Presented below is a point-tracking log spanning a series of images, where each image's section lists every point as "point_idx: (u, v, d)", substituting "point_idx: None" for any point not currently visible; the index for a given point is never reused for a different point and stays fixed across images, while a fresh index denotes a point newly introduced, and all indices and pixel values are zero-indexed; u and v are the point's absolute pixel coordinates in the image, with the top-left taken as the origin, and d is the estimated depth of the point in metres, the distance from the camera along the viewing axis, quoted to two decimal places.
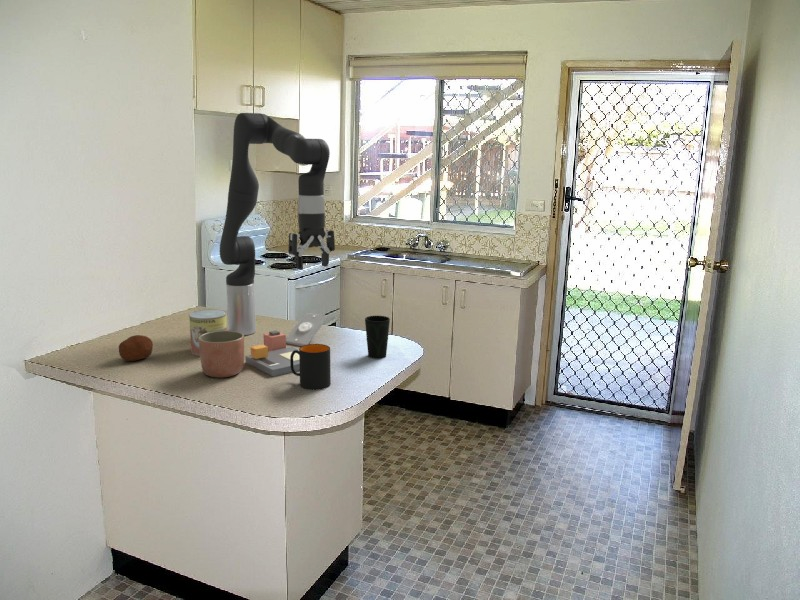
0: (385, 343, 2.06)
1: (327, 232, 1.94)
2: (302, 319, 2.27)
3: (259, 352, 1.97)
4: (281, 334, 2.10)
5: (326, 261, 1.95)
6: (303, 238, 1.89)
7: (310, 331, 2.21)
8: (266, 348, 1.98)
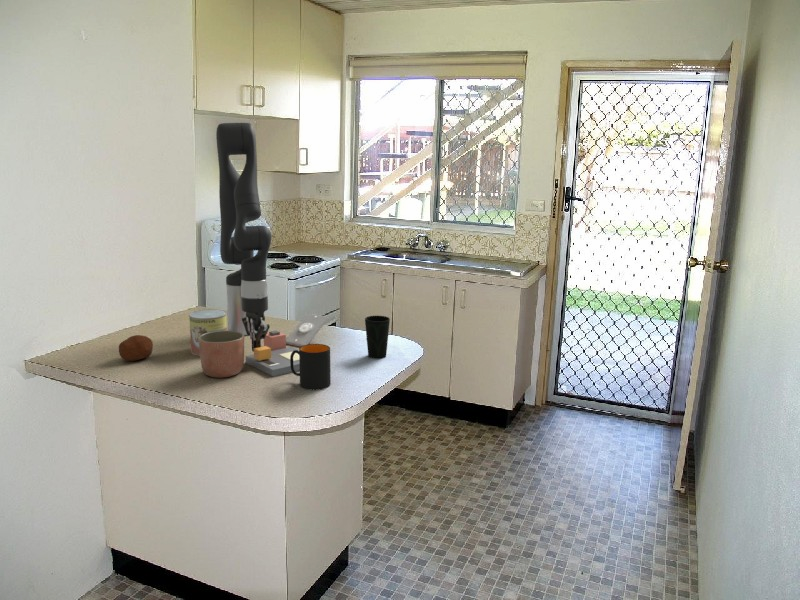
0: (385, 343, 2.06)
1: None
2: (304, 320, 2.27)
3: (262, 353, 1.95)
4: (281, 334, 2.10)
5: None
6: None
7: (310, 331, 2.21)
8: (269, 349, 1.97)
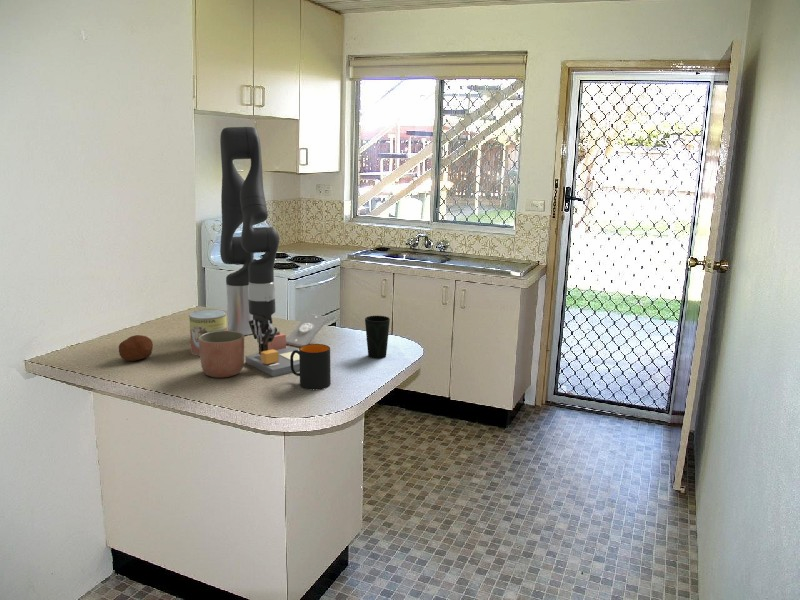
0: (385, 343, 2.06)
1: None
2: (304, 320, 2.26)
3: (269, 357, 1.92)
4: (281, 334, 2.10)
5: None
6: None
7: (310, 332, 2.20)
8: (276, 353, 1.94)
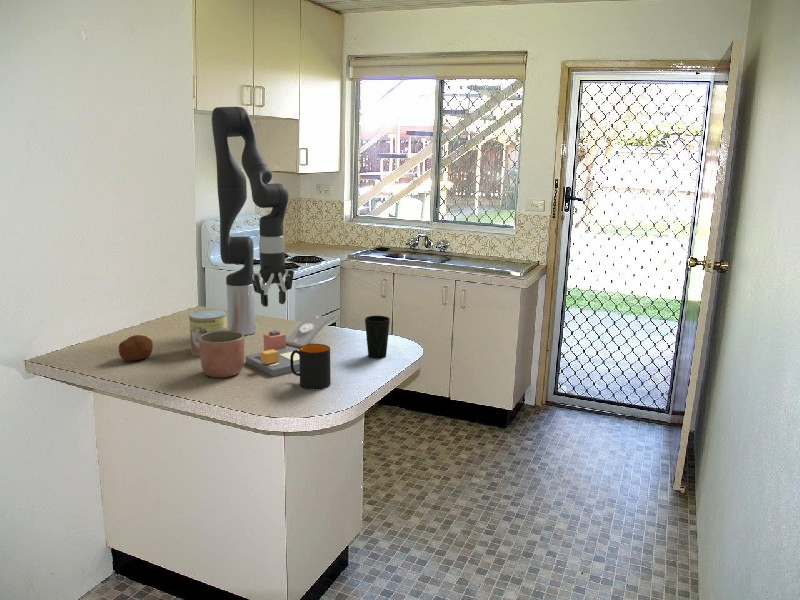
0: (385, 343, 2.06)
1: None
2: (305, 320, 2.26)
3: (269, 357, 1.92)
4: (281, 334, 2.10)
5: None
6: None
7: (310, 332, 2.20)
8: (277, 353, 1.94)
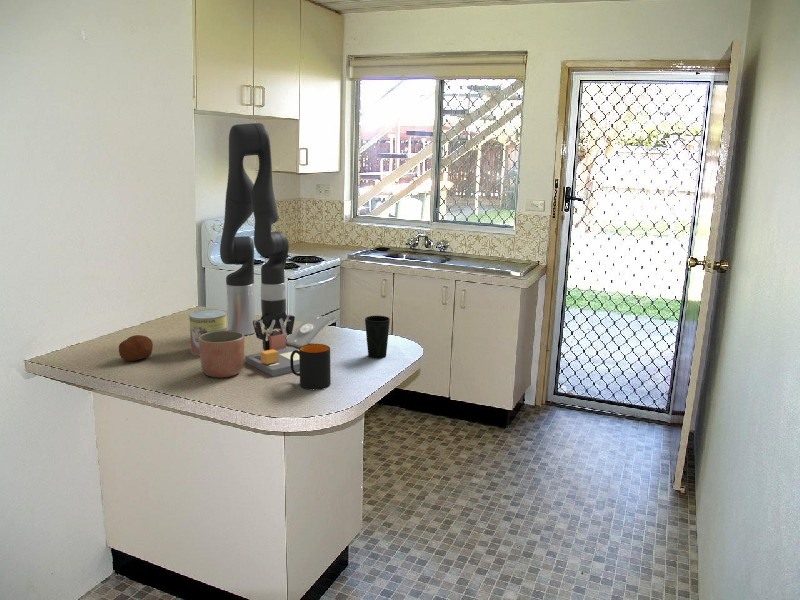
0: (385, 343, 2.06)
1: None
2: (306, 320, 2.26)
3: (269, 357, 1.92)
4: (281, 334, 2.10)
5: None
6: None
7: (310, 333, 2.19)
8: (277, 353, 1.94)
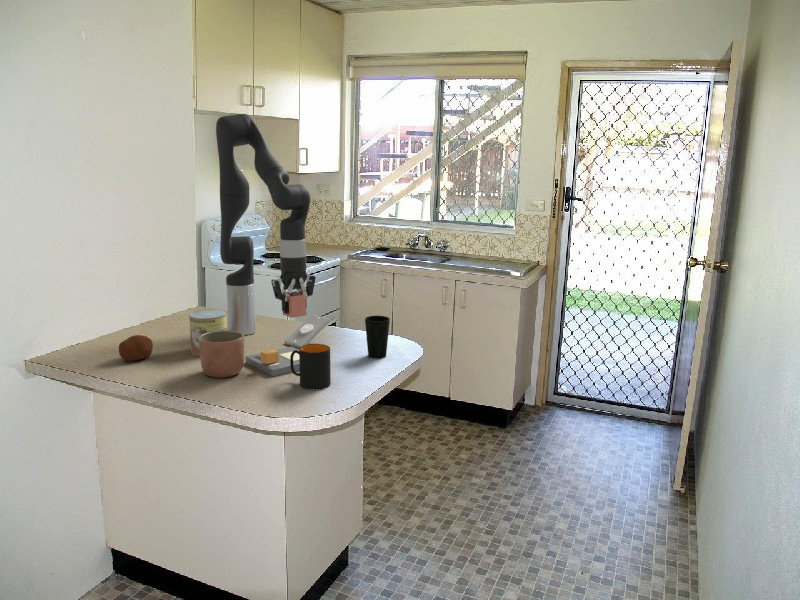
0: (385, 343, 2.06)
1: None
2: (307, 321, 2.25)
3: (269, 357, 1.92)
4: (301, 295, 1.97)
5: None
6: None
7: (310, 333, 2.19)
8: (277, 353, 1.94)
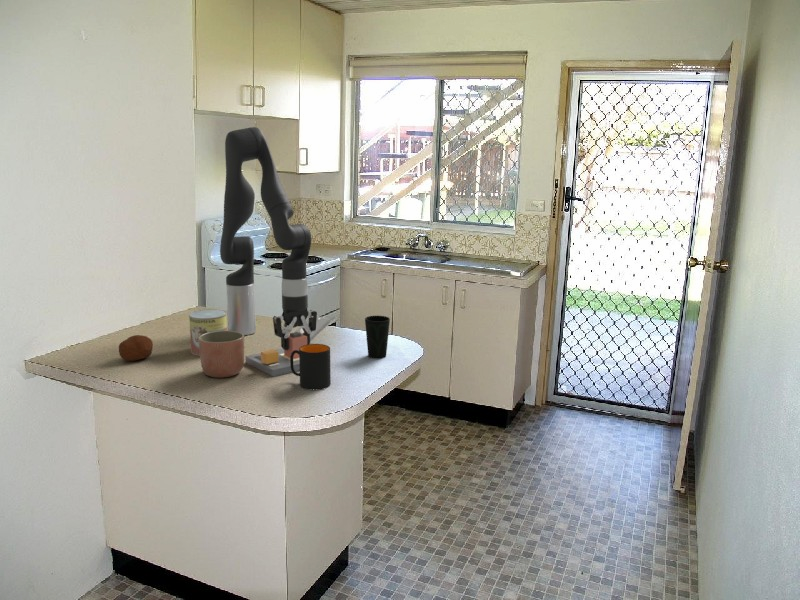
0: (385, 343, 2.06)
1: None
2: (308, 321, 2.25)
3: (269, 357, 1.92)
4: (302, 336, 2.00)
5: None
6: None
7: (310, 333, 2.18)
8: (277, 353, 1.94)
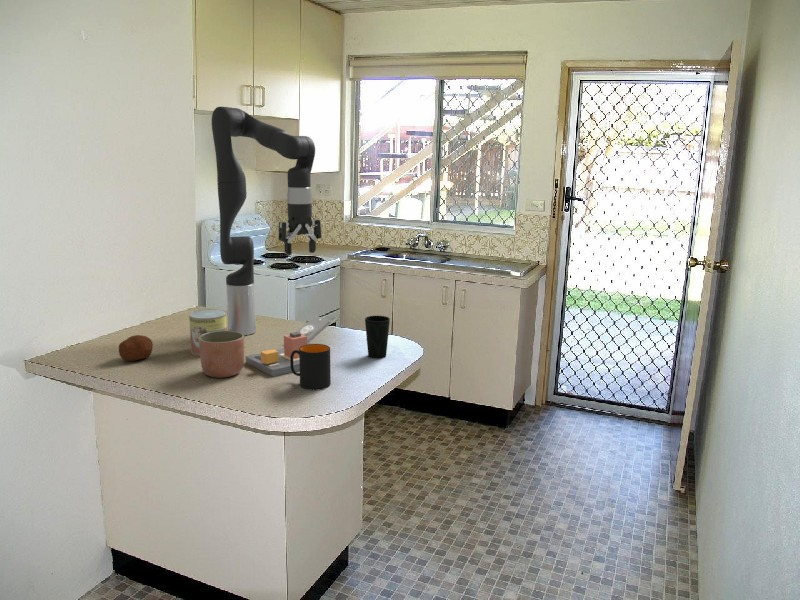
0: (385, 343, 2.06)
1: None
2: (309, 322, 2.24)
3: (269, 357, 1.92)
4: (302, 336, 2.00)
5: None
6: None
7: (309, 334, 2.17)
8: (277, 353, 1.94)
